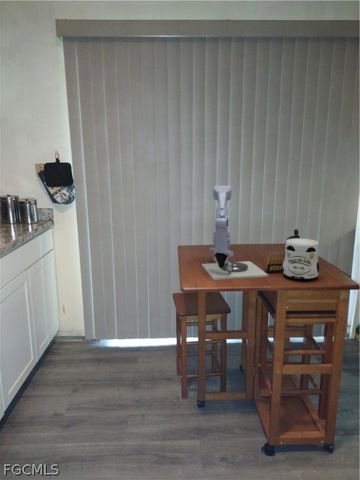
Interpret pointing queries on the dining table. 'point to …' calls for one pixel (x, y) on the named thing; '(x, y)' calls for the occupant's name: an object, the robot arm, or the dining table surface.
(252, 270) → the dial plate
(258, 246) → the dining table surface
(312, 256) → the milk container
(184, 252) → the dining table surface
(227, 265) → the dial
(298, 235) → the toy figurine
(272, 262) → the ammunition clip
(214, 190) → the robot arm
